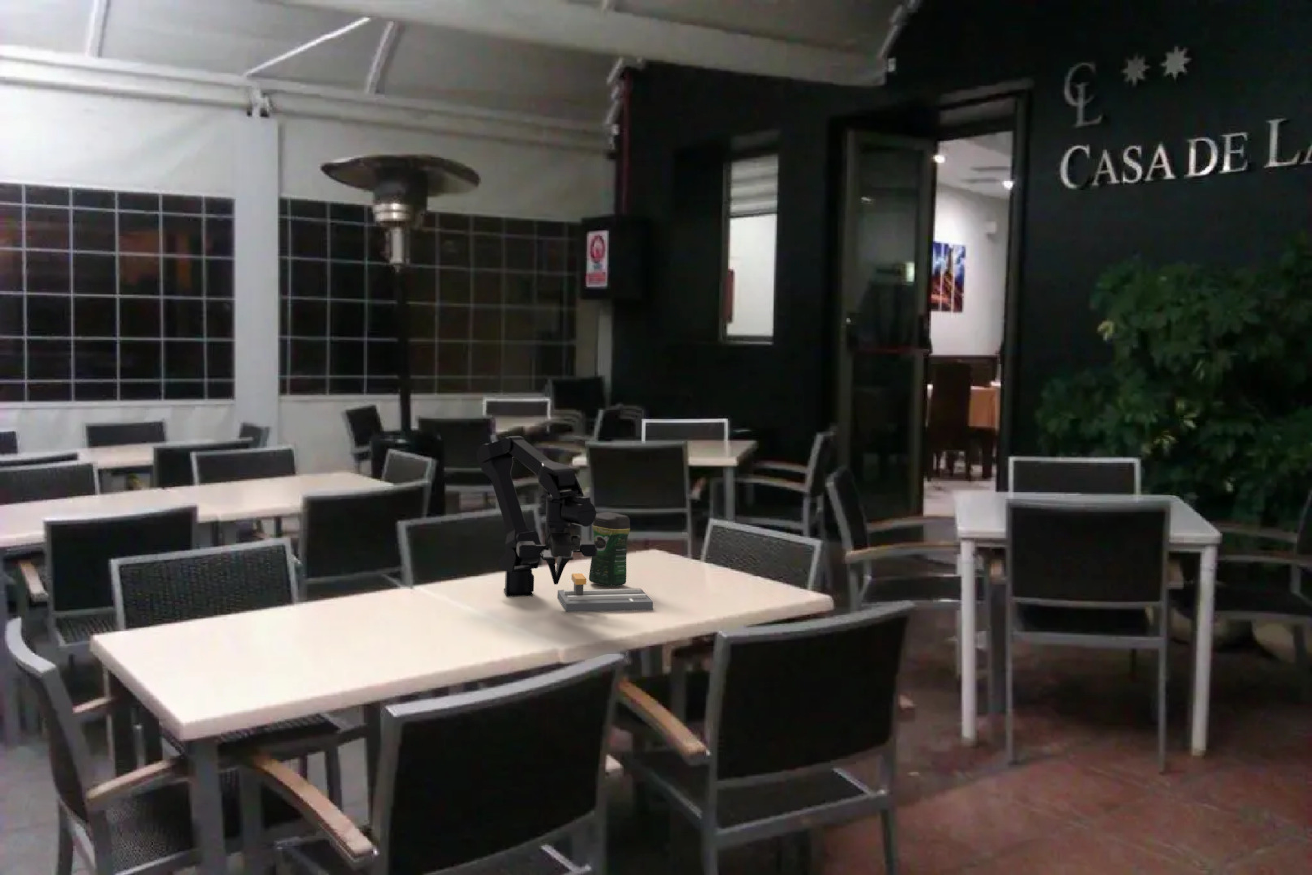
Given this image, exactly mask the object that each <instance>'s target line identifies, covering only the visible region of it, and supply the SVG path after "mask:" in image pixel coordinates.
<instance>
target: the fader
mask: <svg viewBox="0 0 1312 875" xmlns="http://www.w3.org/2000/svg"><path fill="white" fill-rule="evenodd" d="M571 580H572V582H573V590H574V596H576V595H583V590H584V585H587V577H586V576H585V575H584V574H583V573H582V572H580V573H575V572H574V573H571Z"/></svg>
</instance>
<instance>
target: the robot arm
mask: <svg viewBox="0 0 1312 875" xmlns="http://www.w3.org/2000/svg"><path fill="white" fill-rule="evenodd" d="M513 458H515V459H516V460H517V461H518V462H520V463H521V464H523V466H524V467H526V468H528V470H530V471H531V472H532V473H534V474H535V476H537V479H538V480H537V481H538V483H539V484H540V485H541V487H542V488H543V489H544V490H545V492H544V493H543V494H541V495H540V499H541V500H545V501H546V504H545V506H546V508H545V532H544V533H545V535H544V536H545V537H544V538H545V539H544V544H542V542H541V541H540V537H539V533H538V531H537V530H531V529H530V528H529V527H527V524H526V520H525V517H524V513H523V510H522V507H521V505H520V501H519V497H518V495H517V490H516V488H515V484H514V481H513V478H512V473H511V472H512V469H513V465H514V460H513ZM476 459H477V463H478V464H479V467H480V468H481V471H482V472H483V473H484V474H485V475H486V476H487V478H489V480H491V483H492V487H493V491H494V492H495V496H496V500H497V503H498V506H499V509H500V513H501V515H502V516H501V517H502V520H503V523H504V526H505V530H506V532H507V533H506V534H507V535H506V538H505V543H504V549H505V552H504V553H503V555H502V556H501V557H500V558H499V560H498V562H497V563H498V566H499V570H500V571H504V572H505V573H504V574H505V576H504V588H503V591H504V594H505V596H506V597H528V596H529V597H530V596H531V597H532V596H533V593H534V591H535V575H534V574H533V569H538V568H539V565H540V562H541V559H542V560H543V561H546V564H547V566H548V568H549V573H550V575H551V578H552V582H553V585H559V583H560V579H561V576H562V574H563V573H564V572H563V571H564V569H565V567H566V565H567V564H568V563H569V562H570V561H573V560H574V557H573V554H574V553H581V554H582V555H583V556H584V557H592V556H597V546H596V545H595V544H594V543H593V540H581V536H580V534H578V535H575V534H574V535H571V532H570V531H571V529H570V525H571V524H573V525H576V526H580V527H585V528H587V527H590V526H591V525H593V522H594V520H595V517H596V514H597V510H596V507H595V505H594V504H593V503H591V497H590V496H584V492H583V489H582V487H581V486H580V484H579V481H578V479H577V476H576V472H575V471H574V469H573V468H572V467H569V466H568V465H566V464H564V463H561V462H555V461H553V460H551V459H549V458H548V457H547V456H546V455H545V454H543V453H542V452H540V451H539V450H538V449H537V448H535V447H534V446H533V445H532V444H530V443H529V442H528V441H526V439H525V438H524V437H523V436H520V435H512V436H506V437H503V438H502V439H500V440H497V441H494V442H490V443H481V444H480V446H479V447H478V449H477V451H476Z"/></svg>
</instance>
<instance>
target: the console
mask: <svg viewBox="0 0 1312 875" xmlns="http://www.w3.org/2000/svg"><path fill="white" fill-rule="evenodd" d="M557 600H558V602H559V603H560V604H561V607H562V608H563V610H564V611H565V612H566V613H579V612H580V613H584V612H585V613H587V612H589V613H591V612H617V611H618V612H621V611H653V610H654V600H653V599H651V597H650V596H649V595H648V594H647V593H645V591H644V590H643V589H642V588H640V587H639V588H638V587H637V588H608V589H607V588H604V589H602V588H600V589H598V588H595V589H583V595H576V596H574V589H559V590H558V589H557Z"/></svg>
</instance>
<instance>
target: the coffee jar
mask: <svg viewBox="0 0 1312 875" xmlns="http://www.w3.org/2000/svg"><path fill="white" fill-rule="evenodd" d="M630 521H631V520H630V518H629V516H628V515H625V514H621V513H617V512H616V513H615V512H610V511H609V512H608V511H607V512H605V511H603V512H596V517H595V520H594V522H593V523H592V532H593V540H592V542H593V543H594V544H595V545H596V546H597V556H591V560H590V566H589V573H588V581H589V582H590V583H593V584H595V585H600V586H604V587H605V586H607V587H609V586H613V587H622V586H623V585H626V584H627V556H628V554H627V553H628V552H627V551H628V550H627V548H628V547H627V546H628V538H629V534H630V532H631V523H630Z"/></svg>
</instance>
